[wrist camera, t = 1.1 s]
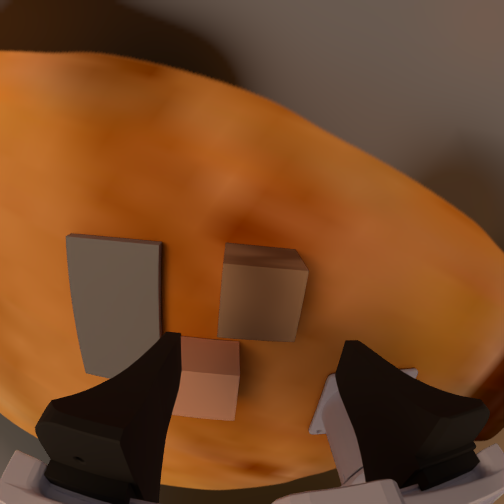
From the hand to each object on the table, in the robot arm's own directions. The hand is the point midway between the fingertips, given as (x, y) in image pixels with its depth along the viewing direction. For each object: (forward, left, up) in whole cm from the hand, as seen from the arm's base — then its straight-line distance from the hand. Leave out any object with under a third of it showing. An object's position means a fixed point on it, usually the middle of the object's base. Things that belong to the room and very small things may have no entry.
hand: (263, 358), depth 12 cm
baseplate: (+10, +4, -8) cm, 13 cm away
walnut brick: (0, 0, -9) cm, 9 cm away
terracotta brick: (+3, +7, -9) cm, 12 cm away
